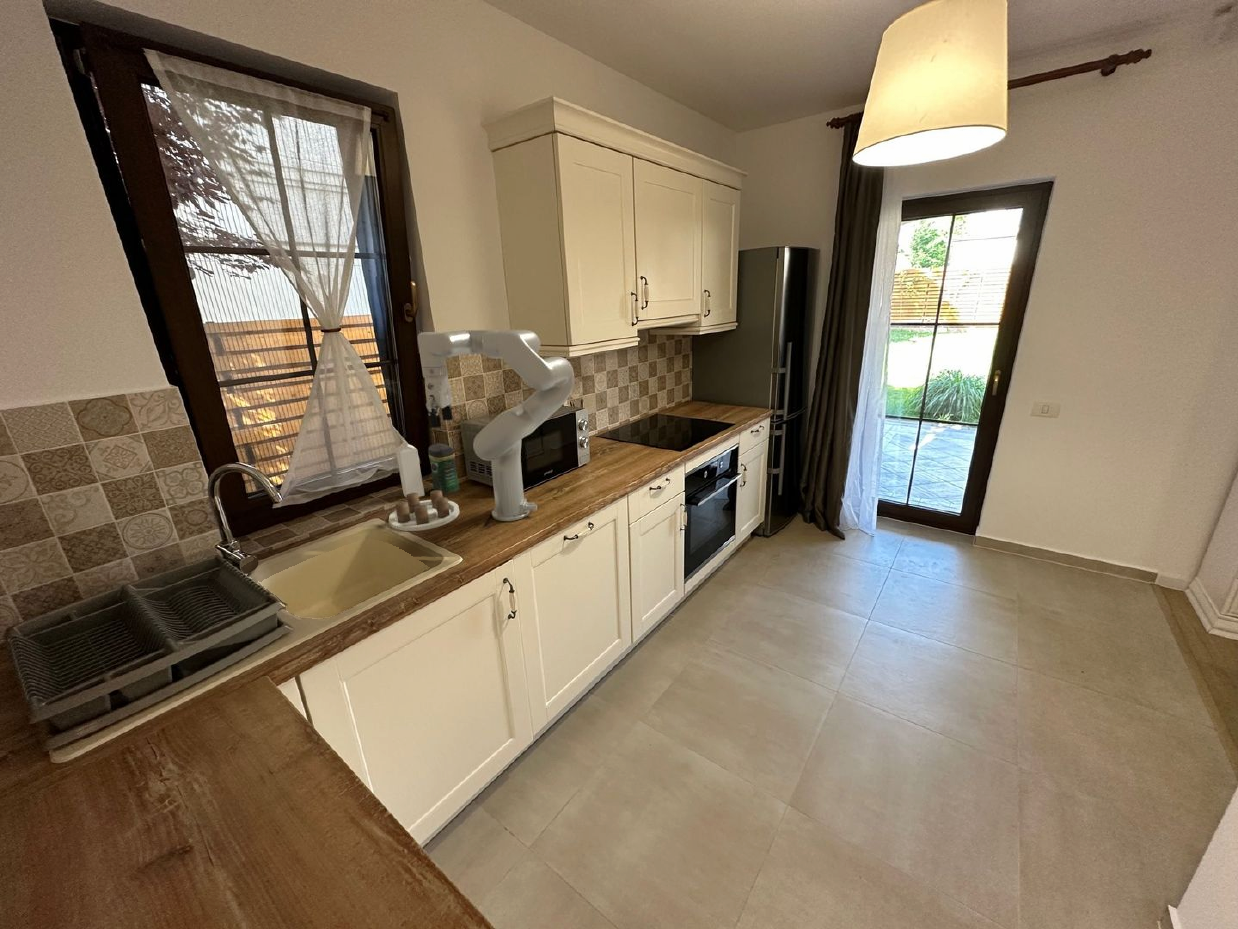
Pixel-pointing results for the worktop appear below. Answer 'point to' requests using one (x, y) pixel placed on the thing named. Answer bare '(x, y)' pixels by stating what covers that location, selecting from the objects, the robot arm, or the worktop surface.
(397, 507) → the brown round peg
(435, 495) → the brown cylinder
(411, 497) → the seated bead
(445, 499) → the tan rounded cylinder
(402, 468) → the milk
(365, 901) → the worktop surface
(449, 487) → the coffee jar
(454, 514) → the groove tray
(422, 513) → the brown round peg
